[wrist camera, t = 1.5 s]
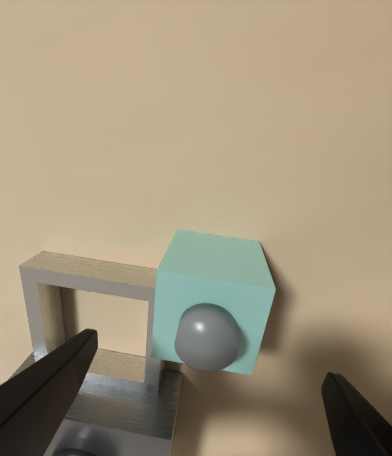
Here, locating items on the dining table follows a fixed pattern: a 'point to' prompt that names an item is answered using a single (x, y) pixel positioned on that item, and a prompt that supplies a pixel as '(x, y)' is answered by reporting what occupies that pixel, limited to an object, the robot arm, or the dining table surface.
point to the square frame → (103, 363)
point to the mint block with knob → (211, 302)
